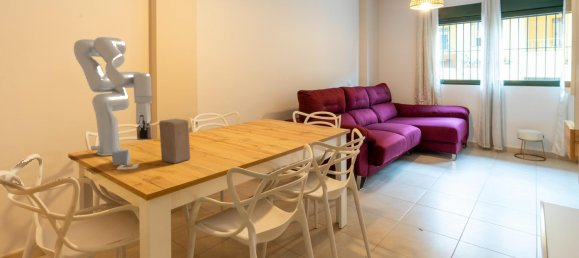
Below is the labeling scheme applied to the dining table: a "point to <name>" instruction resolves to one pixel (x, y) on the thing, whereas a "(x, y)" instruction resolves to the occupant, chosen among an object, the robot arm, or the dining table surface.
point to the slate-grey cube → (121, 157)
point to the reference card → (128, 166)
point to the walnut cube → (149, 132)
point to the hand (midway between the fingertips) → (145, 136)
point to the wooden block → (174, 140)
